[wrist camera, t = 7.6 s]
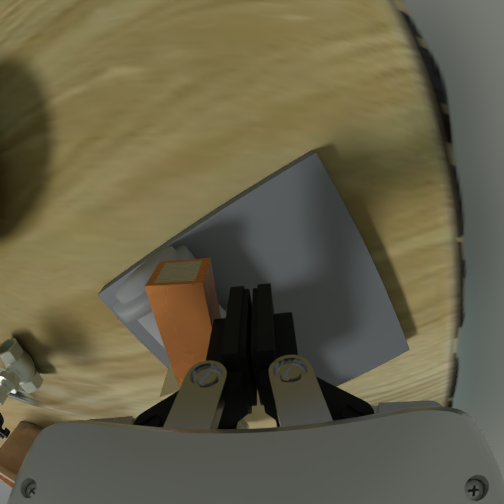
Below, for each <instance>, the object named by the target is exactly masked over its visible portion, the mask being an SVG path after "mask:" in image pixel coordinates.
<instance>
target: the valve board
mask: <svg viewBox="0 0 504 504" xmlns="http://www.w3.org/2000/svg"><path fill="white" fill-rule="evenodd" d="M201 258H211V264H212V270H213V276H214V282H215V287H216V293H217V299H218V304H219V310H220V315H221V318H226V313H227V306H228V300H229V293H230V287H236V286H244V288H245V289H249V290H250V296H251V302H252V294H253V288H257V285H258V284H266V283H271V290H272V299H273V307H274V314H276V313H286V312H292V315H293V322H294V329H295V336H296V344H297V351H298V355H299V356H301V357H304V358H305V359H307V360H308V361H309V362H310V364H311V366H312V368H313V371H314V373H315V376H316V377H318V378H320V379H322V380H324V381H326V382H328V383H330V384H332V385H334V386H338V385H340V384H342V383H345V382H347V381H349V380H351V379H353V378H355V377H358V376H360V375H362V374H364V373H366V372H368V371H370V370H372V369H374V368H376V367H378V366H380V365H382V364H384V363H386V362H388V361H389V360H391V359H393V358H395V357H397V356H399V355H401V354H402V353H404V352H406V351H408V350H410V349H409V346H408V344H407V341H406V338H405V336H404V333H403V331H402V328H401V325H400V323H399V320H398V318H397V315H396V313H395V310H394V308H393V306H392V303H391V301H390V298H389V296H388V294H387V291H386V289H385V287H384V285H383V282H382V280H381V278H380V275H379V273H378V271H377V269H376V267H375V264H374V262H373V260H372V258H371V256H370V254H369V252H368V250H367V247H366V245H365V243H364V241H363V239H362V237H361V235H360V233H359V231H358V229H357V227H356V225H355V223H354V221H353V219H352V217H351V215H350V213H349V211H348V209H347V208H346V206H345V204H344V202H343V200H342V198H341V196H340V194H339V193H338V191H337V189H336V187H335V185H334V183H333V182H332V180H331V178H330V176H329V174H328V173H327V171H326V169H325V167H324V166H323V164H322V162H321V160H320V159H319V157H318V155H317V154H316V152H314V151H312V150H311V151H310V152H308V153H306V154H305V155H303V156H301V157H299V158H298V159H296V160H294V161H293V162H291V163H289V164H288V165H286V166H284V167H283V168H281V169H279V170H278V171H276V172H274V173H273V174H271V175H269V176H268V177H266V178H264V179H263V180H261V181H259V182H258V183H256V184H255V185H253V186H251V187H250V188H248V189H247V190H245V191H243V192H242V193H240V194H239V195H237V196H235V197H234V198H232V199H231V200H229V201H227V202H226V203H224V204H223V205H221V206H220V207H218V208H217V209H215V210H214V211H212V212H210V213H209V214H207V215H206V216H204V217H203V218H201V219H200V220H198V221H197V222H195V223H194V224H192V225H191V226H189V227H188V228H186V229H185V230H183V231H182V232H180V233H179V234H177V235H176V236H174V237H173V238H171V239H170V240H168V241H167V242H165V243H164V244H163V245H161V246H160V247H158V248H157V249H155V250H154V251H152V252H151V253H150V254H148V255H147V256H145V257H144V258H142V259H141V260H140V261H138V262H137V263H135V264H134V265H133V266H131V267H130V268H128V269H127V270H126V271H124V272H123V273H121V274H120V275H119V276H117V277H116V278H115V279H113V280H112V281H110V282H109V283H108V284H106V285H105V286H104V287H103V288H102V290H101V291H100V292H99V294H98V296H99V298H100V299H101V300H102V301H103V302H104V303H105V304H106V305H107V307H108V308H109V309H110V310H111V311H112V312H113V313H114V314H115V315H116V316H117V318H118V319H119V320H120V321H121V322H122V323H123V324H124V325H125V326H126V327H127V328H128V329H129V330H130V331H131V332H132V333H133V334H134V335H135V336H136V337H137V339H138V340H139V341H140V342H141V343H142V344H143V345H144V346H145V347H146V348H148V349H149V350H150V351H151V352H152V353H153V354H154V355H155V356H156V357H157V358H158V359H159V360H160V361H161V362H162V363H163V364H164V365H165V366H166V367H167V368H168V371H167V375H166V378H165V381H164V384H163V388H162V391H161V394H160V398H161V399H162V400H164V399H166V398H167V397H169V396H170V395H172V394H173V393H175V392H177V391H178V390H180V387H179V385H178V382H177V379H176V377H175V374H174V372H173V369H172V366H171V364H170V361H169V358H168V355H167V353H166V350H165V347H164V344H163V341H162V338H161V335H160V332H159V329H158V326H157V323H156V320H155V317H154V314H153V311H152V308H151V304H150V301H149V298H148V295H147V291H146V288H145V285H146V284H147V282H148V280H149V279H150V277H151V275H152V274H153V272H154V270H155V269H156V267H157V265H158V264H159V262H161V261H174V260H188V259H201ZM243 420H244V421H246V422H247V423H248V425H249V429H255V428H272V427H277V426H276V421H275V419H273V418H272V417H270V416H269V415H267V414H266V413H265V409H264V405H261V404H260V399H259V394H258V389H257V406H252V414H248V415H246V416H245V417H244V418H243Z"/></svg>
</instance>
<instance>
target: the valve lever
mask: <svg viewBox="0 0 504 504" xmlns="http://www.w3.org/2000/svg"><path fill="white" fill-rule="evenodd" d="M145 288H146V291H147V295H148V298H149V301H150V304H151V308H152V311H153V314H154V317H155V320H156V323H157V326H158V329H159V332H160V335H161V338H162V341H163V344H164V347H165V350H166V353H167V355H168V358H169V361H170V364H171V366H172V369H173V372H174V374H175V377H176V379H177V382H178V385H179V387H181V385H182V383H183V381H184V378H185V376H186V374H187V372H188V371H189V369H190V368H191V367H192V366H194V365H195V364H197V363H199V362H203V361H206V356H207V351H208V346H209V341H210V336H211V331H212V326H213V321H214V319H219V318H221V315H220V310H219V304H218V299H217V293H216V287H215V282H214V276H213V270H212V264H211V258H201V259H188V260H174V261H161V262H159V264H158V265H157V267H156V269H155V270H154V272H153V274H152V275H151V277H150V279H149V280H148V282H147V284H146V285H145ZM241 429H249V425H248V423H247V422H246V421H244V420H243V419H241Z"/></svg>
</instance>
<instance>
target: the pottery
mask: <svg viewBox="0 0 504 504" xmlns="http://www.w3.org/2000/svg"><path fill="white" fill-rule="evenodd" d="M42 430H43V428H41V427H39V426H37V425H34V424H31V423H28V422H20V423H19V425H18V426H17V427H16V428H15V430H14V431H13V432H12V433H11V435H10V436H9V437H8V439H7V440H6V441H5V443H4V444H3V445H2V447H1V448H0V481H2V482H3V483H4V484H6V485H7V486H8V487H10V488H11V489H12V488H13V485H14V483H15V480H16V477H17V475H18V472H19V470H20V468H21V465H22V463H23V461H24V459H25V457H26V455H27V453H28V451H29V449H30V447H31V445H32V444H33V442H34V440H35V439H36V437H37V436H38V435H39V433H40V432H41V431H42Z"/></svg>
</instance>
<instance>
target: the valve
mask: <svg viewBox="0 0 504 504" xmlns="http://www.w3.org/2000/svg"><path fill="white" fill-rule="evenodd" d="M0 358H1V359H2V361H3V362H4V364H5V366H6V371H2V372H1V373H0V404H2V405H3V403H4V401H5V400H6V398H7V397H8V395H7V393H10V392H12V393H16V392H17V391H18V389H19V387H20V386H19V384H20V385H21V387H22V388H23V389H24V390H25V392H26V393H32V392H34V391H36V390H37V389H39V387H40V386H41V384H42V382H43V378H42V377H41V376H40V374H39V373H38V372H37V370H36V369H35V365H34V362H33V360H32V358H31V357H30V355H29V354H28V353H27V352H25V351H24V350H22V348H21V347H20V345H19V343H18V342H17V340H16V339H15V338H10V339H7V340H6V341H4V342H3V343H2V344H1V345H0ZM3 423H4V419H3V416H2V415H1V413H0V438H2V439H3V438H4V437H5V438H8V436H9V434H10V431H9V430H8V429H7V428H5V430H3V429H2V425H3Z"/></svg>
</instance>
